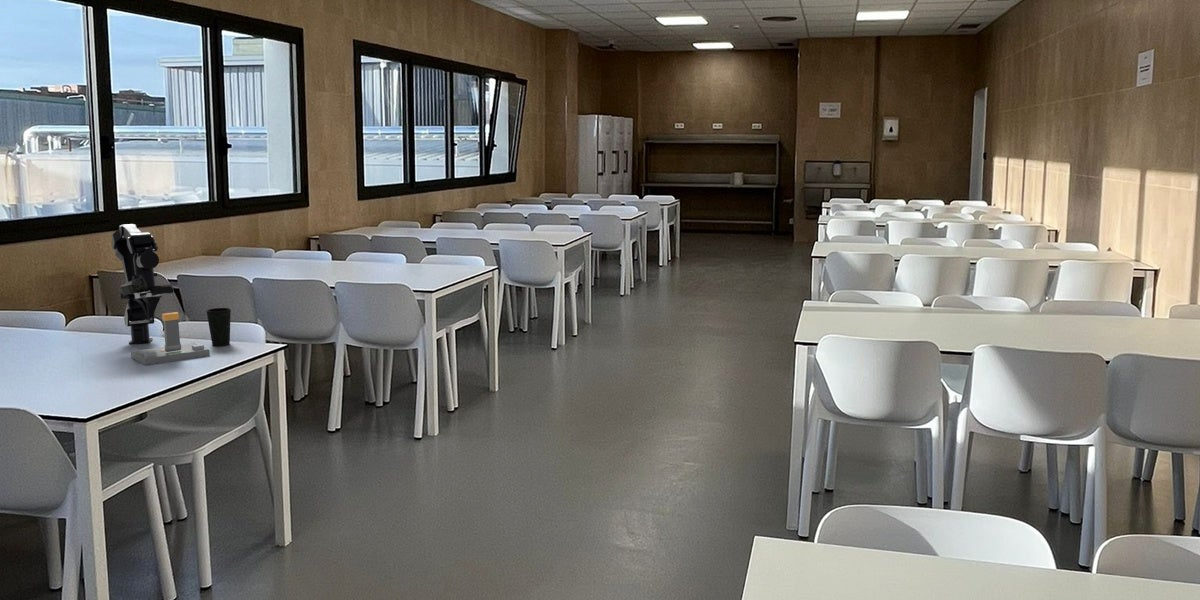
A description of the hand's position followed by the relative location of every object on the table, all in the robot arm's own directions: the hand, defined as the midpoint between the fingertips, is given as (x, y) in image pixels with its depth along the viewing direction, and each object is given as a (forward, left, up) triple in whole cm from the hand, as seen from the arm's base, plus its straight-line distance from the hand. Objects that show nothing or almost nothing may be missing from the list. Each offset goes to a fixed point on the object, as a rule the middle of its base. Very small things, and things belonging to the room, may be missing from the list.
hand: (150, 318), depth 340 cm
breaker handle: (+13, +9, -9) cm, 18 cm away
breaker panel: (+10, +8, -11) cm, 17 cm away
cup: (-5, +21, -11) cm, 24 cm away
